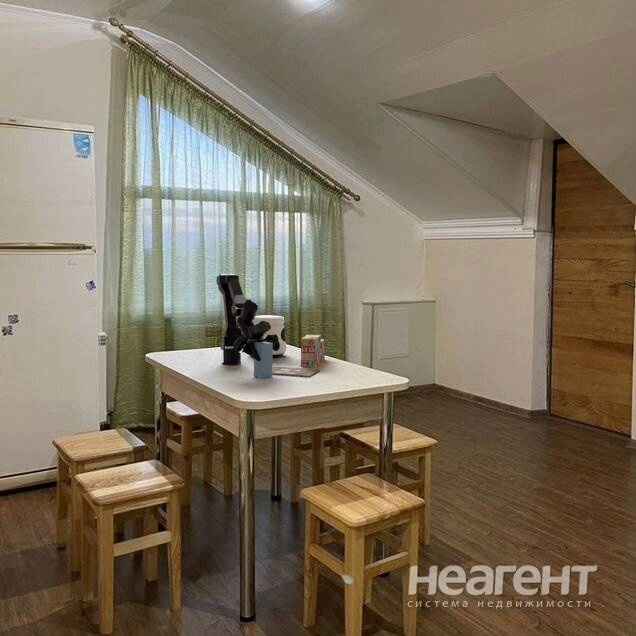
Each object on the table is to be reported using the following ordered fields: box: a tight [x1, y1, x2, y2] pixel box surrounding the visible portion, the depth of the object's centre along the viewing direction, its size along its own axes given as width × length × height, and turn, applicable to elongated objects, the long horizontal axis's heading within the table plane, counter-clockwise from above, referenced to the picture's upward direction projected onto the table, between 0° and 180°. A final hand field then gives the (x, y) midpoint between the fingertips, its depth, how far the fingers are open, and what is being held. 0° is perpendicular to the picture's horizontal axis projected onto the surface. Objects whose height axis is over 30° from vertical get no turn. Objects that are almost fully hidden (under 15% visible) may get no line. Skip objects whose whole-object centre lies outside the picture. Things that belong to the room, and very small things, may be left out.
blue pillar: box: [253, 342, 274, 379], centre depth 248 cm, size 5×5×13 cm
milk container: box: [252, 314, 287, 358], centre depth 298 cm, size 17×17×18 cm
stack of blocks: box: [300, 334, 326, 368], centre depth 281 cm, size 21×6×12 cm, turn 169°
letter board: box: [272, 366, 321, 378], centre depth 258 cm, size 20×14×1 cm
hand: (265, 359), depth 247 cm, fingers closed on blue pillar, 5 cm apart
